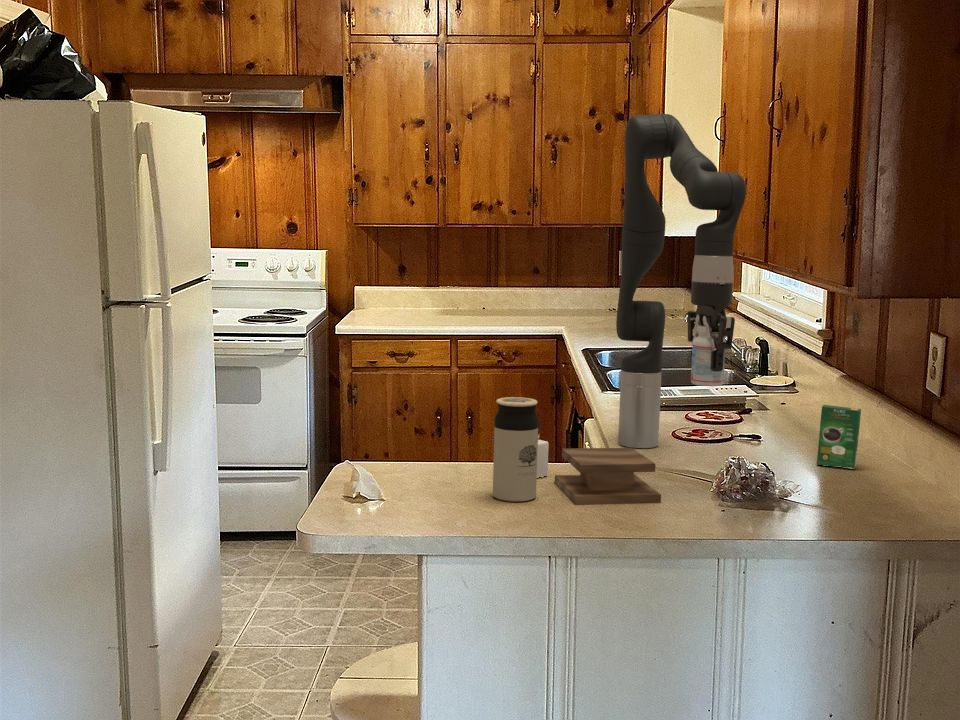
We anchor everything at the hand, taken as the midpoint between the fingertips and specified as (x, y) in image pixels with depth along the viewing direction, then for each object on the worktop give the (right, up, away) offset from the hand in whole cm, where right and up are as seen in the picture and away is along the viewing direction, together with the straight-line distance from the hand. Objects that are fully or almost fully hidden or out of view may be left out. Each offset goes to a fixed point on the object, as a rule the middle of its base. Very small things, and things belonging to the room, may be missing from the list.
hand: (707, 368), depth 197 cm
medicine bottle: (-35, -22, +10) cm, 42 cm away
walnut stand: (-19, -23, -1) cm, 31 cm away
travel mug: (-37, -24, -6) cm, 44 cm away
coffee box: (+33, -22, +25) cm, 46 cm away
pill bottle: (0, -3, 0) cm, 3 cm away
